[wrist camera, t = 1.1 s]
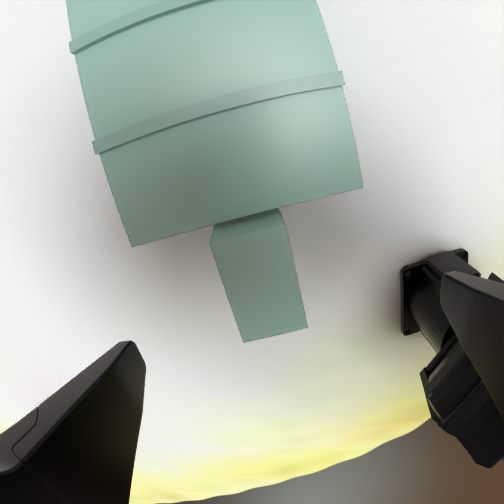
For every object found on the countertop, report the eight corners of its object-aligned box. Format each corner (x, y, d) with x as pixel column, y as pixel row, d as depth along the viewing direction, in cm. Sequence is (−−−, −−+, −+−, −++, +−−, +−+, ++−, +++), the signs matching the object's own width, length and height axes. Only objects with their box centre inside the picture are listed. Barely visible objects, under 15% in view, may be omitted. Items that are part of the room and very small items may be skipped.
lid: (365, 276, 17) (385, 305, 14) (177, 322, 17) (167, 356, 15) (274, -74, 9) (280, -105, 6) (76, -14, 10) (50, -33, 7)
